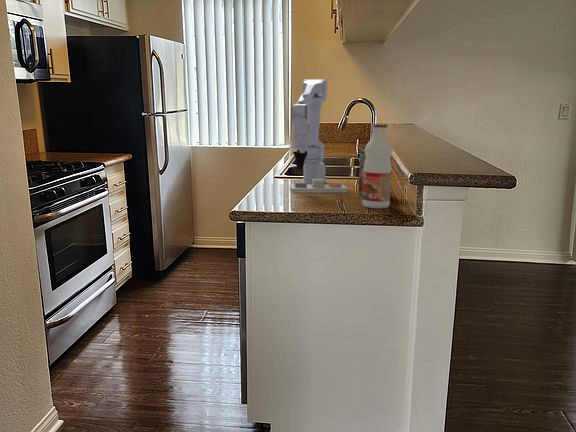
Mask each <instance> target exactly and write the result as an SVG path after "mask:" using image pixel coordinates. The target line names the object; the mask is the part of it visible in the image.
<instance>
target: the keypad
mask: <svg viewBox="0 0 576 432" xmlns="http://www.w3.org/2000/svg"><path fill="white" fill-rule="evenodd" d="M289 191H291V193H295V194H296V193H297V194H298V193H299V194H300V193H303V194H304V193H307V194H310V193H314V194H315V193H320V194H321V193H322V194H323V193H332V194H333V193H336V194H337V193H340V194H341V193H348V188H347V186H345V185H344V184H343V183H342V187H329V183H328V184H325V183H324V186H313V185H312V184H308V183H307V188H295V183H294V184H292V183H291V184H289Z"/></svg>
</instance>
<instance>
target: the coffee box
mask: <svg viewBox="0 0 576 432" xmlns="http://www.w3.org/2000/svg"><path fill="white" fill-rule="evenodd" d="M365 160H366V156H365V151H364V152H361V153H359V168H358V170H359V171H358V172H359V173H358V196H362V192H363V169H364V162H365Z"/></svg>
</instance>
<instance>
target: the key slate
mask: <svg viewBox="0 0 576 432" xmlns="http://www.w3.org/2000/svg"><path fill="white" fill-rule="evenodd" d="M294 184H295V188H307V184H308V183H306V182H299V181H294Z"/></svg>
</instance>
